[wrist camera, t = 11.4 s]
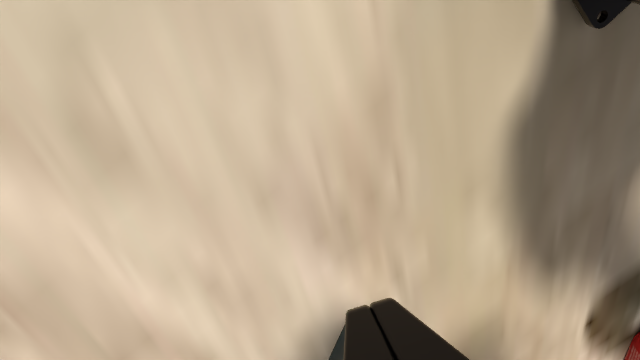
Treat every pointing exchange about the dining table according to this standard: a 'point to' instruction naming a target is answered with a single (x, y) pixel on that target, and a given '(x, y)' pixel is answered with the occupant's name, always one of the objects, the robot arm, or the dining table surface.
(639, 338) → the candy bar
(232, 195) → the dining table surface
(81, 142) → the dining table surface
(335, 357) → the watch
